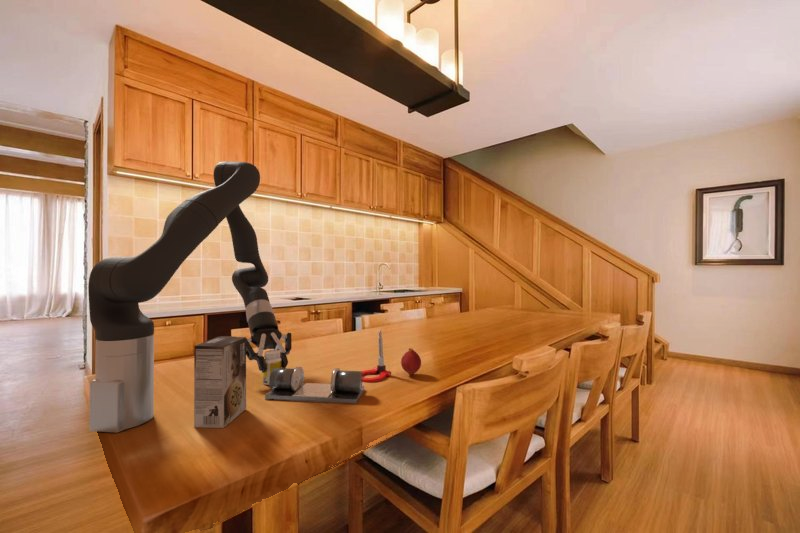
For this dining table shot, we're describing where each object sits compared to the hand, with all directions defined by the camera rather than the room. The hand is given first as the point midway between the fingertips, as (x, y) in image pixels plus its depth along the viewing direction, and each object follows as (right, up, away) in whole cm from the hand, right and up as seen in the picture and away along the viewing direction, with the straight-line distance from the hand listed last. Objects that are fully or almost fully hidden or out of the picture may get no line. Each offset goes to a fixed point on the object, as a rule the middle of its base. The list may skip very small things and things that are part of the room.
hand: (274, 368), depth 91 cm
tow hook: (+26, -5, +6) cm, 27 cm away
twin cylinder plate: (+13, -4, -7) cm, 15 cm away
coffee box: (-4, -4, -20) cm, 21 cm away
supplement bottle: (-1, -4, +1) cm, 5 cm away
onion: (+37, -5, +8) cm, 38 cm away
